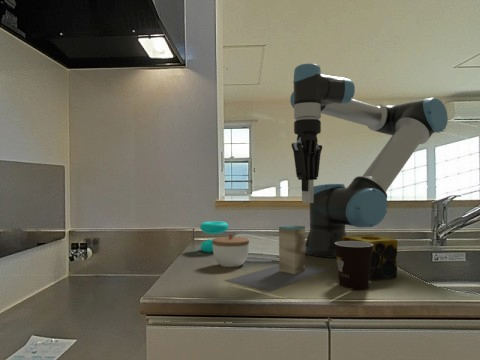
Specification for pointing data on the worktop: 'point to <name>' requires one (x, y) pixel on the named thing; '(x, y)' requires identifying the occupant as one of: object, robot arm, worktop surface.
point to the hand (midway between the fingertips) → (307, 202)
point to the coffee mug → (354, 264)
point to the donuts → (212, 228)
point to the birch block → (292, 249)
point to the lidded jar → (230, 250)
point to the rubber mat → (275, 277)
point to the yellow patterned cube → (380, 255)
